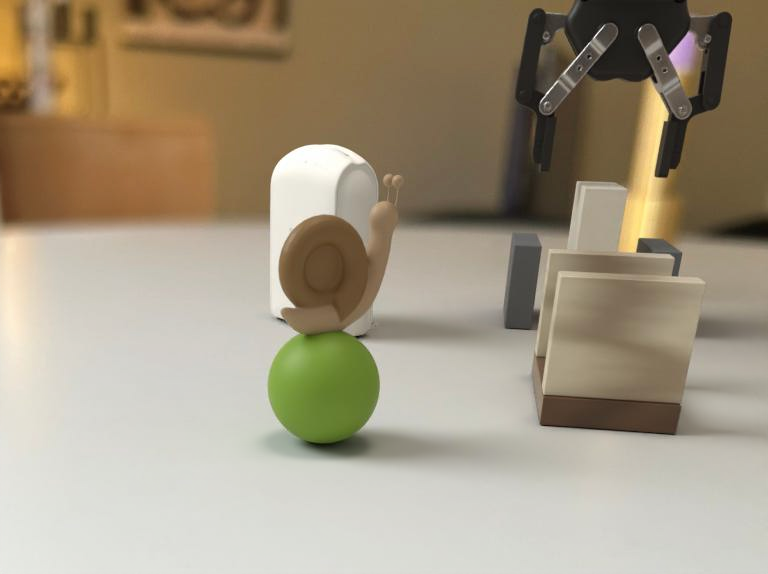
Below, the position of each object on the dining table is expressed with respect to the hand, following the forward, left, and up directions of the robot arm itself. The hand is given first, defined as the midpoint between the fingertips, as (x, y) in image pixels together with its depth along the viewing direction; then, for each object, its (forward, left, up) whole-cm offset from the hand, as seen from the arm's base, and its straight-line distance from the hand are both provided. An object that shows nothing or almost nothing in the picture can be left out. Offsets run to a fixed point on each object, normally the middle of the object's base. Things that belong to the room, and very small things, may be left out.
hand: (602, 174), depth 75 cm
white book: (0, 0, -11) cm, 11 cm away
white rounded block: (+20, +8, -11) cm, 24 cm away
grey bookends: (0, 0, -11) cm, 11 cm away
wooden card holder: (+1, +25, -11) cm, 28 cm away
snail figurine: (+15, +37, -11) cm, 41 cm away
